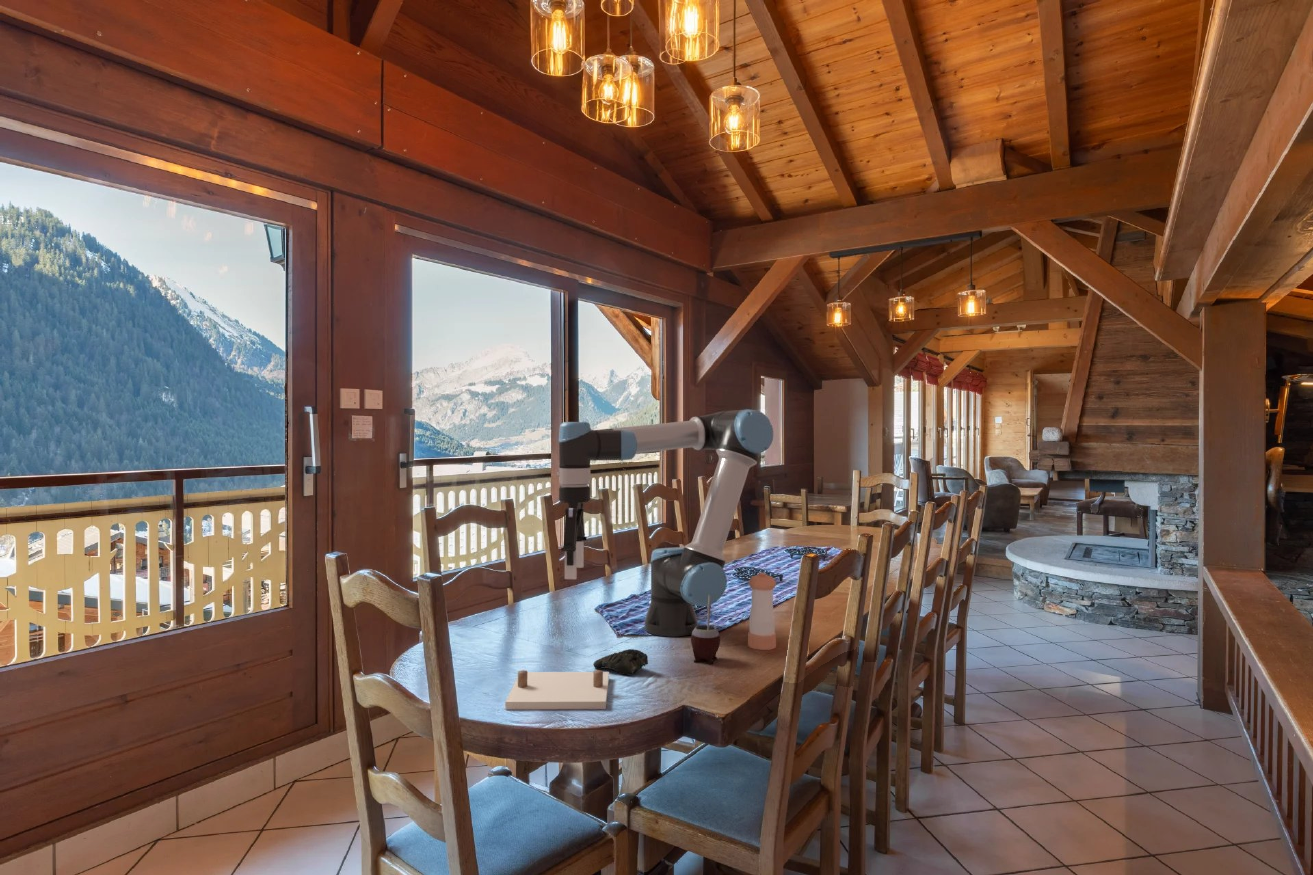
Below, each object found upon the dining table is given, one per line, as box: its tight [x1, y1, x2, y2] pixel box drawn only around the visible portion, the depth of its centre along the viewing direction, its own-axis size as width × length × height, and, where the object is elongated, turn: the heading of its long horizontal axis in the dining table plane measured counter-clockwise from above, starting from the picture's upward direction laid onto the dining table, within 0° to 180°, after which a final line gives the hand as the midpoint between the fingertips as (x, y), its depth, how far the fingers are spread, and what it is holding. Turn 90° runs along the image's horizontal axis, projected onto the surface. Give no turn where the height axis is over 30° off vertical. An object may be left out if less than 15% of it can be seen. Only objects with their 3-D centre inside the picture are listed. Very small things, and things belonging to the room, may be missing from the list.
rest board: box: [504, 669, 610, 710], centre depth 145 cm, size 20×17×4 cm
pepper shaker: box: [747, 572, 777, 651], centre depth 178 cm, size 7×7×19 cm
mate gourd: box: [690, 594, 721, 666], centre depth 167 cm, size 8×8×15 cm
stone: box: [592, 648, 649, 676], centre depth 159 cm, size 7×13×5 cm, turn 71°
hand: (574, 572), depth 165 cm, fingers open, 13 cm apart
